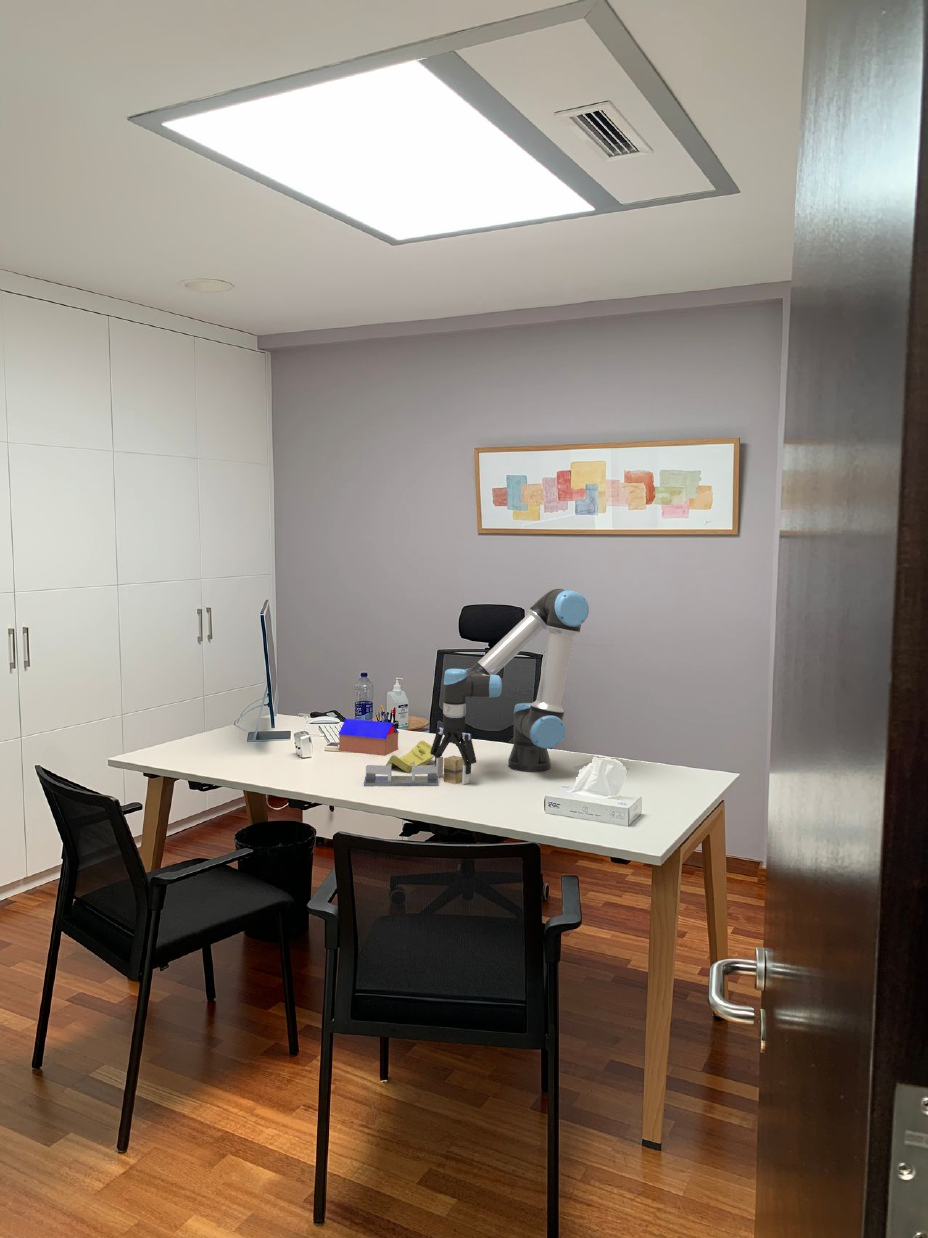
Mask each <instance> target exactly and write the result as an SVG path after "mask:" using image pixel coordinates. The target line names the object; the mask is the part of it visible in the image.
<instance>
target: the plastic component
mask: <svg viewBox="0 0 928 1238" xmlns="http://www.w3.org/2000/svg"><path fill="white" fill-rule="evenodd" d="M431 748H432V745H431V744H429V742H427V741H425V740H419V741H418V742H417V743H416V745H415V746H414V747H412V749H411V750H410V751H409V752H408V753H405V754H403V755H402V756H400V757H399V756H398V755H396V754H393V755H391V756H390V758H389V759H388V761H387V763H386V764H385V766H388V765H389V764H392V768H394V767H396V766H397V767H398V768H400V769H401V770H402V771H404V772H405V773H409V774H410V773H411V774H412V764H415V766H420V765H428V763H429V762H430V761H431V760H432V759H434V758H435V757H434V755H431V754H430V752H431Z"/></svg>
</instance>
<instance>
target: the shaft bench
mask: <svg viewBox="0 0 928 1238" xmlns="http://www.w3.org/2000/svg"><path fill="white" fill-rule="evenodd" d="M392 769H393V767H392V764H389V765H388V766H386V765H382V764H381V765H379V764H378V765H375V764H367V765H366V766H365V776H364V781H363V782H364V783H363V787H439V777H438V776H437V766H436V765H435V764H430V765H429V764H427V765H420V766H415V764H412V772H411V775H392Z"/></svg>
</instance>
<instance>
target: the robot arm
mask: <svg viewBox="0 0 928 1238" xmlns="http://www.w3.org/2000/svg"><path fill="white" fill-rule="evenodd" d="M588 603H589V602H588V600H587V599H586V597H585V596H583V594H581V593H580V592H577V591H575V590H572V589H571V590H570V589H563V588H553V589H551V590H548V591H547V592H546V593H545V594H544V595H542V597H540V598H539V599H538V600H537V601H536V602H534V604H533V605H532V606H531V607H529V609H528V610H527V614H526V615H525V617H523V619H521V620H520V621H519V622H518V623H517V624H516V625H515V626H513V628H512V629H511V630H510V631H508V633H507V634H505V635H504V636H503V637H502V638H501V639H500V640H499V641H498V642H497V643H496V644H495V645H494V646H493V647H492V648H491V649H490V650H489V651H488V652H487V653H486V654H484V655H483V656H482V657H481V659H479V660H478V661H477V662H476V663H475V664H474V665H473V666H472V667H470V668H466V669H462V668H448V669H446V670H445V672H444V677H443V706H442V709H443V710H442V714H443V716H442V727H436V728H435V737H434V739H433V742H432V745H431V746H432V748H431V752H430V754H431V755H434V757H433V758H434V765H436V766H437V776H438V778H440V777H444V757H443V754H444V752H445V750H446V748H447V747H448V746H449V744H450V743H451V744H453V745H455V746H456V747H457V749H458V751H459V754H460V757H462V758H463V760H464V763H465V764H463V776H462V782H461V783H462V785H466V784H469V783H470V775H471V773H472V765H473V764H476V763H477V761H478V760H477V757H476V753H475V748H474V744H473V740H472V739H473V735H472V733H470V732H469V733H466V732H465V728H466V717H465V716H466V711H467V710H466V709H467V707H466V706H467V704H466V703H467V698H476V699H477V698H489V699H490V698H498V697H500V695H502V689H503V683H502V678H501V676H500V675H498V673H499V672H501V670H502V669H503V668H504V667H506V665H507V664H508V663H509V662H510V661H512V659H514V658H515V657H516V656H517V655H518V654H519V653H520V652H521V651H523V649H524V648H525V647H526V646H527V645H529V643H530V642H532V640H534V638H536V637H537V635H539V634H540V633H541V632H542V631H545V630H548V639H547V644H546V648H545V655H544V659H543V665H542V668H541V674H540V680H539V685H538V689H537V695H536V699H535V701H533V702H521V703H516V704H515V705H514V709H513V745H512V748H511V751H510V754H509V758H508V766H507V767H509V768H510V769H511V770H516V771H520V772H521V771H522V772H543V771H547V770H550V768H551V765H552V764H551V763H552V762H551V758H550V755H549V751H548V749H552V748H555V747H557V746H558V745H559V744H561V742H562V741H563V740H564V738H565V736H566V726H565V723H564V722H563V720H564V715H565V710H564V708H563V706H562V702H563V696H564V691H565V687H566V686H565V685H566V681H567V677H568V676H567V675H568V670H569V665H570V660H571V655H572V651H573V650H572V649H573V645H574V640H575V637H576V636H577V635H578V634H580V633H581V627H582V624H583V623H584V622H585V621H586V620H587V619H588V616H589V614H590V613H589V612H590V608H589V607H590V606H589V604H588Z"/></svg>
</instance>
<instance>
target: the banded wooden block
mask: <svg viewBox="0 0 928 1238" xmlns="http://www.w3.org/2000/svg"><path fill="white" fill-rule="evenodd" d="M463 764H465V763H464V760H463V758H462V756H459V755H458V756H457V755H450V756H447V757H443V782H444V783H448V784H453V785H457V784H460V783H462V776H463Z"/></svg>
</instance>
